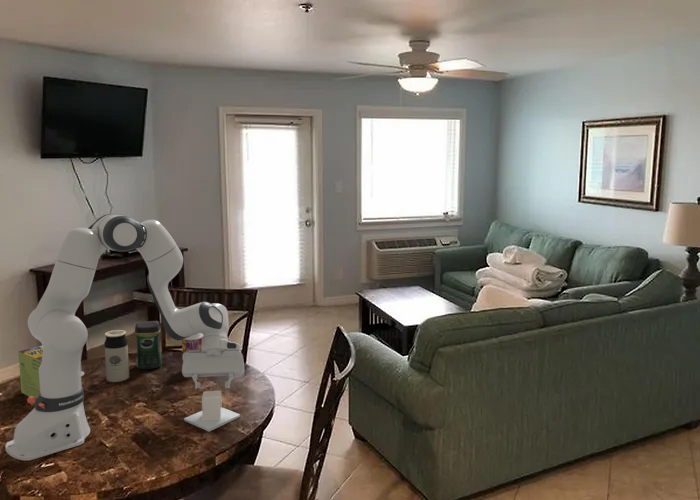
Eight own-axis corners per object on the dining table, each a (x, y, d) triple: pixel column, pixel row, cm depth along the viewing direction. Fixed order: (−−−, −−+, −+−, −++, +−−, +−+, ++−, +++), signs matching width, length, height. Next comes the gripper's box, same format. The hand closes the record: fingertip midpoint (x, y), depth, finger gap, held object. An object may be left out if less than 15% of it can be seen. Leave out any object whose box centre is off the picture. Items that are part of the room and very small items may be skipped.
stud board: (208, 431, 179) (208, 414, 178) (184, 420, 186) (183, 403, 185) (240, 416, 189) (240, 400, 188) (215, 406, 196) (215, 390, 195)
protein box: (44, 404, 197) (41, 360, 194) (20, 393, 205) (17, 351, 202) (73, 393, 205) (70, 351, 203) (49, 383, 214) (46, 343, 211)
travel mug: (112, 374, 223) (109, 329, 220) (132, 374, 223) (130, 329, 220) (102, 382, 215) (100, 335, 212) (123, 383, 215) (121, 336, 212)
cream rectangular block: (220, 419, 185) (219, 397, 184) (202, 420, 184) (201, 398, 183) (221, 412, 190) (221, 390, 189) (204, 413, 190) (203, 391, 188)
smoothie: (198, 363, 236) (197, 316, 233) (207, 369, 229) (206, 320, 226) (178, 368, 231) (177, 319, 227) (187, 374, 224) (186, 324, 221)
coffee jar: (163, 362, 237) (161, 318, 234) (160, 369, 229) (159, 323, 226) (138, 363, 235) (136, 319, 232) (135, 370, 227) (132, 325, 224)
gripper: (181, 345, 193) (178, 385, 185) (244, 344, 196) (243, 382, 188) (184, 354, 198) (180, 392, 190) (245, 352, 201) (244, 390, 193)
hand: (212, 387), depth 189 cm, fingers open, 8 cm apart
